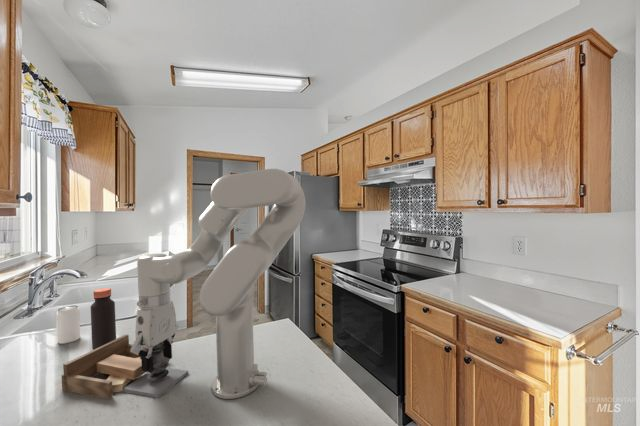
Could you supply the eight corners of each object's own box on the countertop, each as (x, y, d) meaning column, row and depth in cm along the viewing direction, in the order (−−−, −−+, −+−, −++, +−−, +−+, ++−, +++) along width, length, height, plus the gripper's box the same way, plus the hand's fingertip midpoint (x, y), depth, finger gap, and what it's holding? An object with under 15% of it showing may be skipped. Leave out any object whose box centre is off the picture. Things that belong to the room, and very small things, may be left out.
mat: (188, 373, 84) (188, 370, 84) (158, 397, 74) (158, 394, 74) (156, 368, 87) (156, 366, 87) (123, 391, 77) (123, 388, 77)
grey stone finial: (159, 382, 77) (157, 337, 77) (140, 380, 78) (138, 335, 78) (174, 369, 83) (173, 327, 82) (156, 368, 84) (155, 326, 84)
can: (77, 334, 112) (76, 303, 112) (83, 339, 108) (81, 307, 108) (55, 341, 107) (53, 308, 107) (60, 346, 103) (58, 312, 103)
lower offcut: (140, 365, 91) (140, 357, 90) (122, 393, 77) (122, 383, 77) (122, 367, 89) (122, 359, 89) (101, 396, 76) (100, 387, 76)
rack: (165, 361, 91) (164, 339, 91) (108, 398, 74) (107, 371, 74) (124, 355, 96) (123, 334, 95) (62, 389, 78) (61, 364, 78)
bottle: (116, 347, 101) (114, 290, 101) (91, 353, 97) (89, 294, 97) (116, 340, 107) (114, 286, 106) (93, 345, 103) (90, 289, 102)
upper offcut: (114, 362, 88) (113, 354, 88) (150, 369, 83) (149, 360, 83) (96, 371, 83) (96, 363, 83) (134, 379, 79) (133, 370, 79)
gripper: (139, 311, 71) (142, 385, 71) (188, 291, 87) (190, 350, 88) (114, 309, 72) (117, 381, 73) (167, 289, 89) (169, 348, 90)
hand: (157, 363), depth 80 cm, fingers closed on grey stone finial, 5 cm apart
